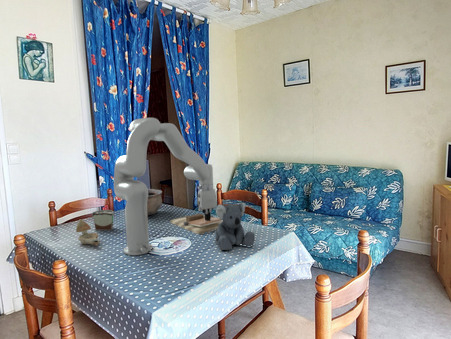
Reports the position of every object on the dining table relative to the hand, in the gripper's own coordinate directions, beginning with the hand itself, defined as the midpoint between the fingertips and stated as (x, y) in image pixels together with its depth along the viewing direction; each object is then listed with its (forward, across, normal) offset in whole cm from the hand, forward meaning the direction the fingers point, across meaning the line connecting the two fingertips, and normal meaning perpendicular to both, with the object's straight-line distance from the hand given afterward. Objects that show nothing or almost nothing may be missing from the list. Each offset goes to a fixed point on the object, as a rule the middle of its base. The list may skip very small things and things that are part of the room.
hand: (207, 220), depth 171 cm
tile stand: (+4, 0, +8) cm, 9 cm away
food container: (+4, -43, +38) cm, 57 cm away
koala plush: (+4, -6, -28) cm, 29 cm away
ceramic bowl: (+4, -14, +50) cm, 52 cm away
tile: (0, 0, +3) cm, 3 cm away
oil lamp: (+4, -56, +20) cm, 60 cm away
